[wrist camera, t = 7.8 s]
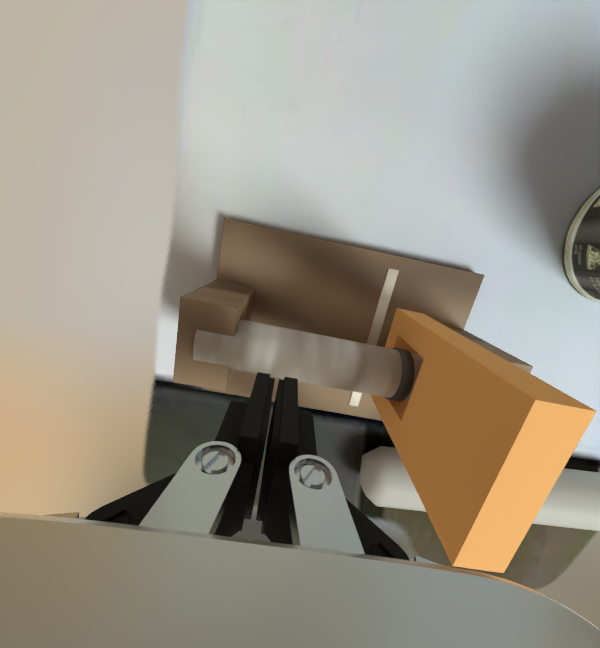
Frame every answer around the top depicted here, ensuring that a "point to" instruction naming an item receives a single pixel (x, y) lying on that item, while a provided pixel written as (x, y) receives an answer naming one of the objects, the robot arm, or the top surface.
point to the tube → (558, 510)
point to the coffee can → (585, 249)
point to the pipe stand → (315, 319)
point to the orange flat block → (478, 440)
